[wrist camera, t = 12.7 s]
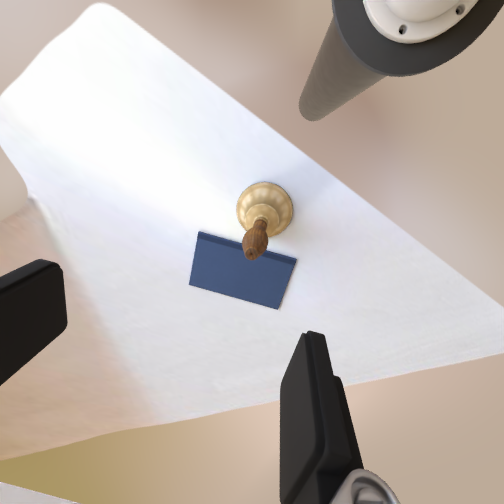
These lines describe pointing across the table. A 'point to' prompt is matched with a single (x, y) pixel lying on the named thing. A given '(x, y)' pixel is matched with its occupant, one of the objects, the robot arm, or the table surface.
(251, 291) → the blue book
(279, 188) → the hand bell
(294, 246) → the table surface
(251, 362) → the table surface
